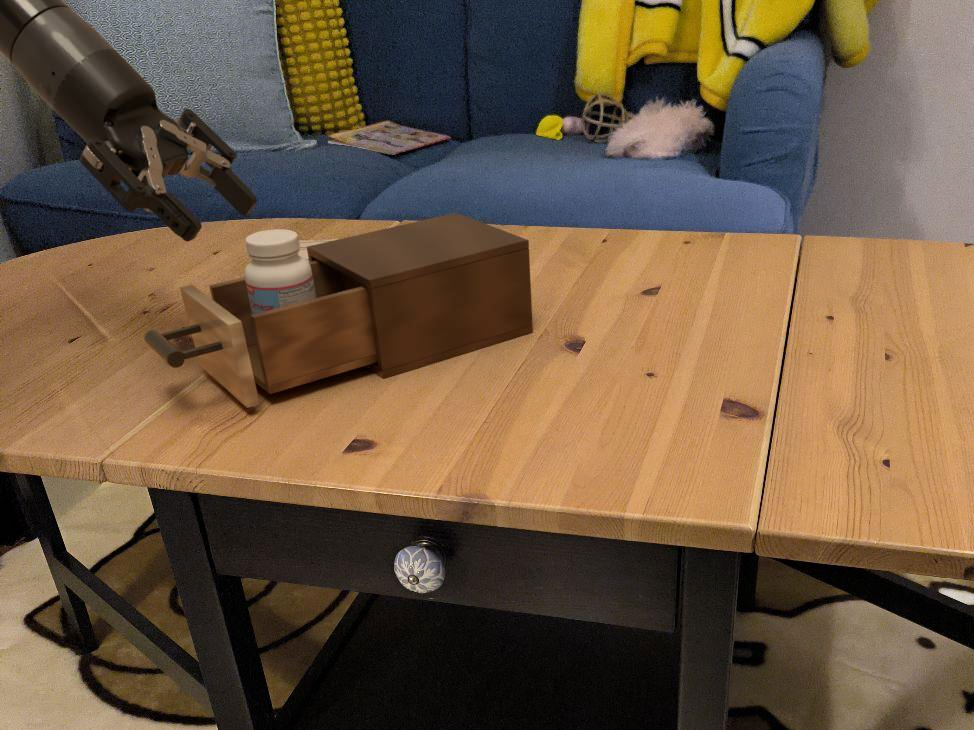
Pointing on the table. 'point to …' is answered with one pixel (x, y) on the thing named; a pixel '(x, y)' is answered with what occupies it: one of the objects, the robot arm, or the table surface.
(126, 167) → the robot arm
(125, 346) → the table surface
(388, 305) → the cabinet
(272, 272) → the pill bottle
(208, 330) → the drawer
